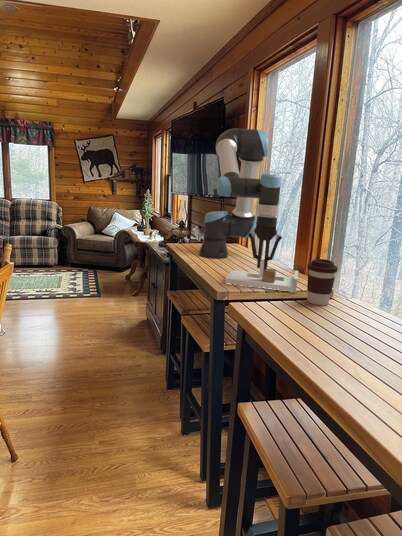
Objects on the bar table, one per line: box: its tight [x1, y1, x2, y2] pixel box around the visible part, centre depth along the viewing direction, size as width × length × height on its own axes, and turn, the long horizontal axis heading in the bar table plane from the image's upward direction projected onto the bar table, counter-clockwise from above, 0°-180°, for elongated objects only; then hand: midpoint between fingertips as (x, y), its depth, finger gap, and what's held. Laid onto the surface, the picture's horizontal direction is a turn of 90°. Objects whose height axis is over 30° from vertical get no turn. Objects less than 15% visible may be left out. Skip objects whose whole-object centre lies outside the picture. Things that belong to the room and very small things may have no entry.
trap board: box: [224, 269, 299, 294], centre depth 154 cm, size 15×27×5 cm, turn 75°
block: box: [262, 267, 277, 283], centre depth 150 cm, size 4×4×4 cm
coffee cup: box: [306, 258, 338, 306], centre depth 134 cm, size 10×10×15 cm
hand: (261, 276), depth 150 cm, fingers closed
